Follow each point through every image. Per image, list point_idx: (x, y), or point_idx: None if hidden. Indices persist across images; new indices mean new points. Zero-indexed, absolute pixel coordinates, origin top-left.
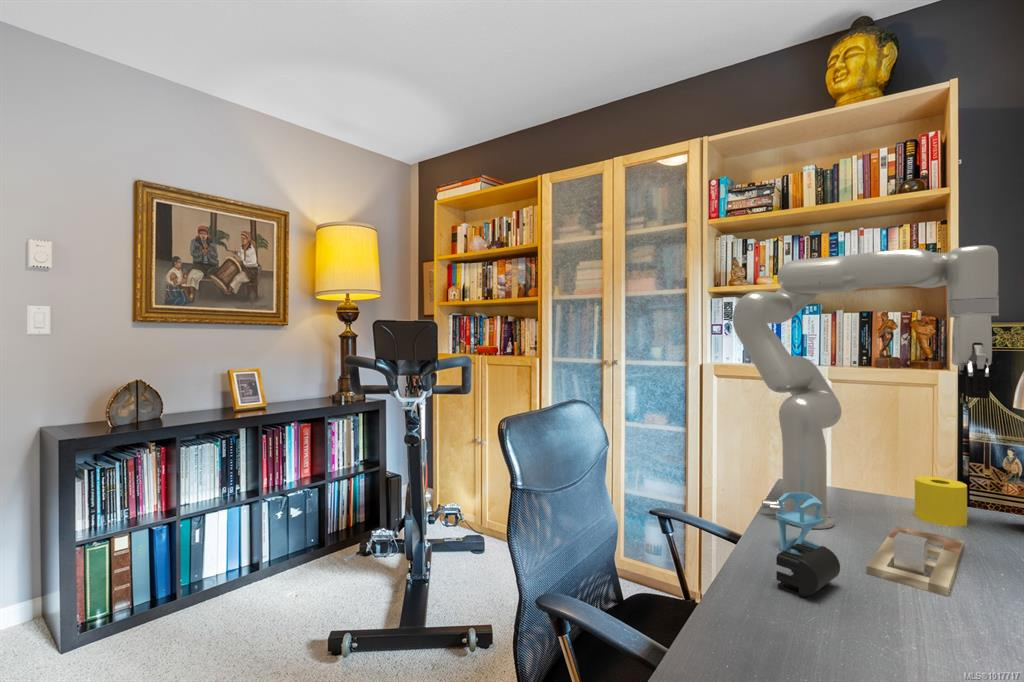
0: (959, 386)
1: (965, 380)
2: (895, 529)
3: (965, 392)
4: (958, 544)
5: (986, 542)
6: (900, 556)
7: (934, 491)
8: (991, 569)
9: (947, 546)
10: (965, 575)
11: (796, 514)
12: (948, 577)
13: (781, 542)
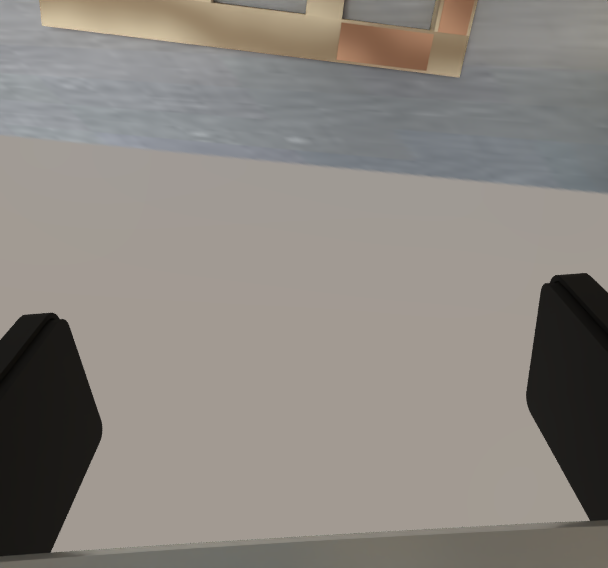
0: (586, 311)
1: (602, 410)
2: None
3: (537, 320)
4: (408, 62)
5: (536, 129)
6: None
7: None
8: (316, 123)
9: (370, 33)
10: (228, 66)
11: None
12: (116, 28)
13: None
